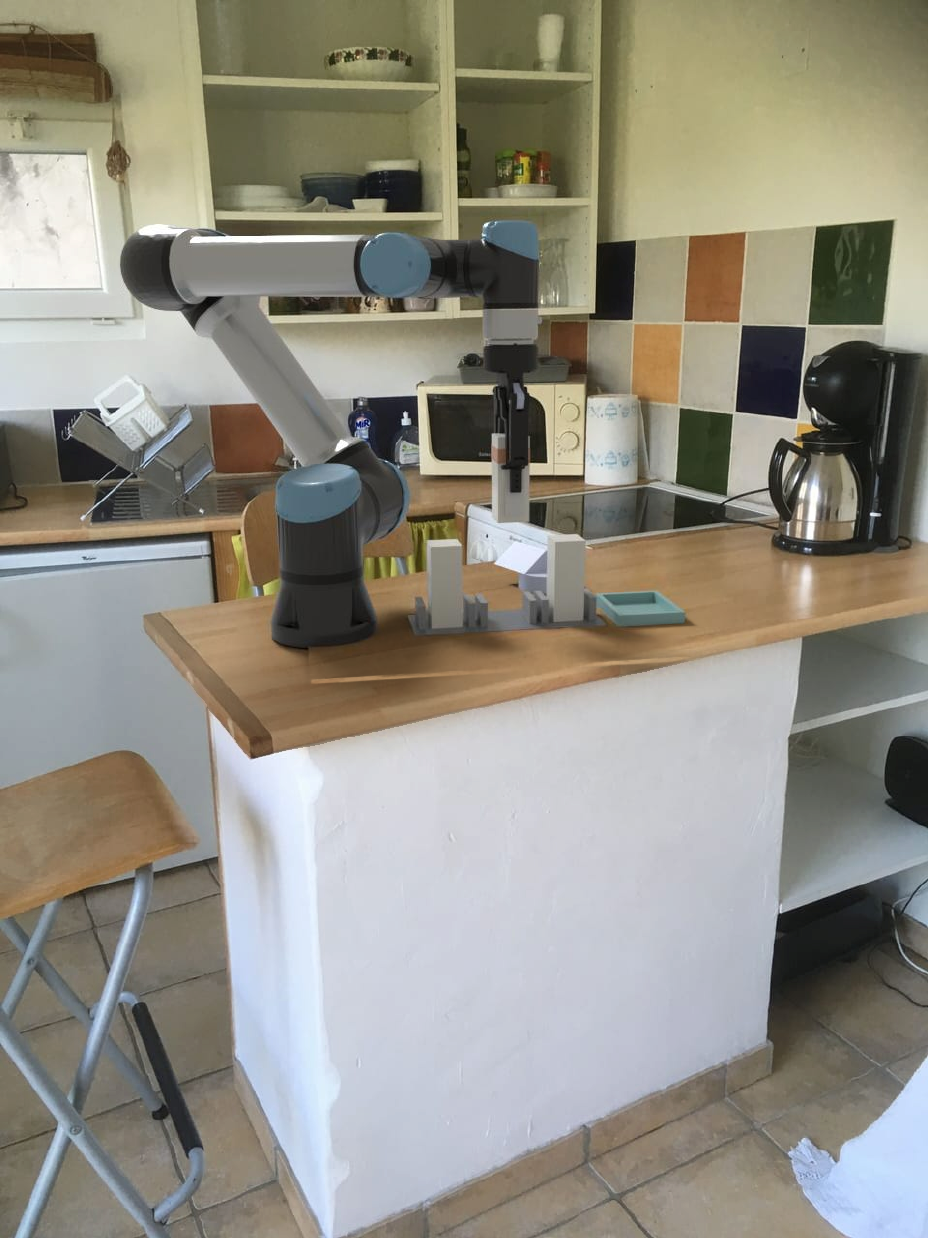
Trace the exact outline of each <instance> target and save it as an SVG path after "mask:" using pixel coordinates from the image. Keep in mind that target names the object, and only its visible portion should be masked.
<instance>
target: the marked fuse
mask: <svg viewBox="0 0 928 1238" xmlns="http://www.w3.org/2000/svg"><path fill="white" fill-rule="evenodd" d="M530 440H531V436H530V435H528V460H529V463H528V466H525V469H524V515H512V516H505V515H504V470H502V469H501V465H506V448H505V433H500V434H499V433H495V434H494V433H491V446H490V447H491V451H490V452H491V459H490V460H491V518H492V519H493V520H494V521H495V522H496V523H497V524H509V523H530V478H531V477H530V474H531V473H530V465H531V447H530V446H531V445H530V444H531V441H530Z"/></svg>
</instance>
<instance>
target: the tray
mask: <svg viewBox="0 0 928 1238" xmlns="http://www.w3.org/2000/svg"><path fill="white" fill-rule="evenodd" d="M594 595H595V596H596V597H597V601H596V607H597V608H598V609H599V610H601V611H602V612H603V614H605V615H606V616H607V617H608V618H609V619H610V621H612V622H614V624H616V626H618V627H620V628H621V627H633V626H634V627H636V626H653V625H670V624H673V625H674V624H685V621H686V611H685V610H684V609H682V608H680V607H679V606H678V605H677V604H675V603H674V602H673V601H671V600H670V599H669V598H668V597H666V596H665V595H664V594H663V593H661V592H660V591H659V590H640V591H638V590H637V591H620V592H619V591H618V592H617V591H616V592H601V593H595V594H594Z"/></svg>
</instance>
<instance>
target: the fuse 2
mask: <svg viewBox="0 0 928 1238" xmlns="http://www.w3.org/2000/svg"><path fill="white" fill-rule="evenodd" d="M586 541H587V540H586V539H584V538H583V537H581V535H580V534H577V533H573V534H572V533H571V534H550V535H549V534H548V535H547V544H546V545H547V549H546V550H547V594H545V596H546V597H547V598H548V599H549V613H548V616H549V617H550V618H551V620H552V621H553V622H562V621H580V620H583V611H584V589H585V579H586V577H585V576H586V575H585V573H586V572H585V571H586Z"/></svg>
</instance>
